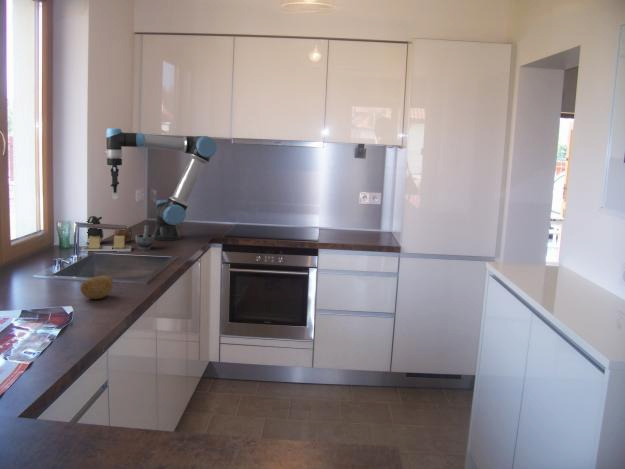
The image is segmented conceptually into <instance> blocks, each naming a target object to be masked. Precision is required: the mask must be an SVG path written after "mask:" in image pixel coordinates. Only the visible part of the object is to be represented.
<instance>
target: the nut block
mask: <svg viewBox="0 0 625 469" xmlns="http://www.w3.org/2000/svg"><path fill="white" fill-rule="evenodd" d="M113 246H114V249H125V246H126V244H125V236H114V235H113Z"/></svg>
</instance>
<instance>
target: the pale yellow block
mask: <svg viewBox="0 0 625 469" xmlns="http://www.w3.org/2000/svg"><path fill="white" fill-rule="evenodd" d="M88 246H89V249H100V246H101V242H100V236H89V244H88Z"/></svg>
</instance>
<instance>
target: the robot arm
mask: <svg viewBox="0 0 625 469" xmlns="http://www.w3.org/2000/svg"><path fill="white" fill-rule="evenodd" d="M105 139H106V142H105V143H106V150H105V154H106V157H107V158H106V165H107V166H111V168H110V173H111V174H110V175H111V182H112V183H111V184H110V187H111V189H112V190H111V191H112V194H111V198H112V200H118V199H119V185H120V182H119V181H118V177H119V171H120V169H119V168H118V166H122V165H123V159H122V157H123V150H122V149H123V148H124V147H125V148H126V147H127V148H144V149H156V150H166V151H167V150H168V151H176V152H177V151H178V152H182V153H183V154H188V155H189V160H188V162H187V164H186V167H184V168H185V169H184V171H183V173H182V175H181V177H180V179H179V181H178V184H177V185H176V188H175V190H174V192H173V194H172V196H170V197H168V198H167V199H158V200H156V202H155V203H156V204H155V207H156V209H155V213H156V214H155V215H156V217H155V218H156V226H155V228H154V232H153V234H152V235H153V236H154V240H157V241H175V240H176V241H177V240H180V232H179V229H178V225H180V224H182V223H183V222H184V220H185V219H186V211H187V209H188V200H189V198H190V196H191V193H192V192H193V190H194V188H195V186H196V183H197V181H198V179H199V177H200V174H201V173H202V171H203V168H204V167H205V165H206V164H209V162H210V159H211V158H212V157H213V156H214V155H215V154H216V152H217V149H218V147H217V143H216V141H215V139H213V138H212V137H210V136H207V135H201V136H200V135H198V136H183V137H175V136H165V135H164V136H163V135H156V134H155V135H153V134H145V133H142V132H123V131H122V129H121V128H111V127H108V128H106V136H105ZM122 147H123V148H122Z"/></svg>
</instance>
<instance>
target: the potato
mask: <svg viewBox="0 0 625 469" xmlns="http://www.w3.org/2000/svg"><path fill="white" fill-rule="evenodd" d="M113 286H114V281H113V278H112V277H111V276H110V275H104V274H103V275H99V276H93V277H91V278H89V279H85V281H83V282H82V283H81V284H80V292H81V294H82V295H83V296H84V297H85V298H88V299H91V300H100V299H104V298H105V297H106V296H108V295H110V293H111V291H112V290H113Z"/></svg>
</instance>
